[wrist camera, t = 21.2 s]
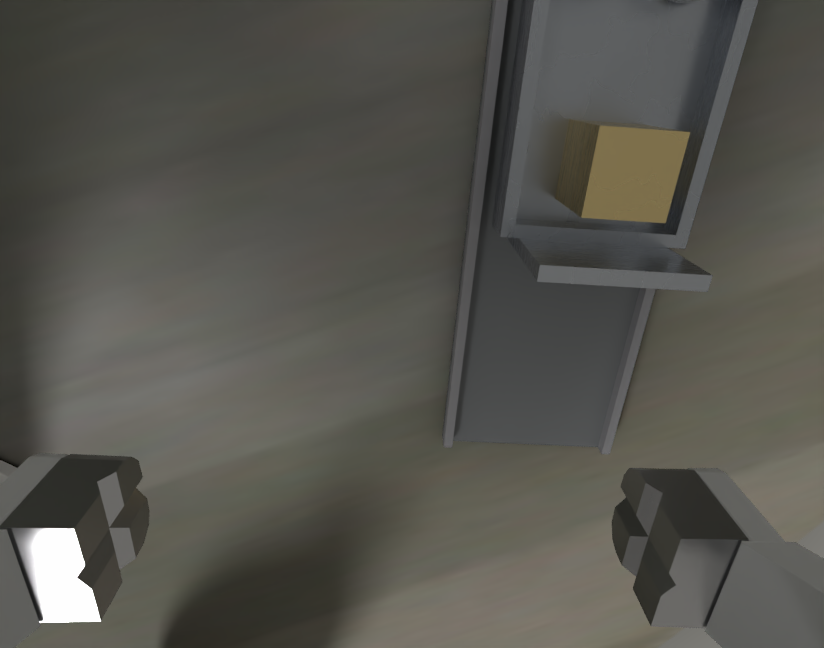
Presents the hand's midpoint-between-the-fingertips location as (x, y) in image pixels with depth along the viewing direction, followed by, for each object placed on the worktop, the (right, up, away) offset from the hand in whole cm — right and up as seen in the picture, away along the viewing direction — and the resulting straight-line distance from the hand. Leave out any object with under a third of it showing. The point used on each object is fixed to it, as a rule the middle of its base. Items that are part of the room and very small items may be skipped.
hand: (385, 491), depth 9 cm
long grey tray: (+11, +16, +20) cm, 28 cm away
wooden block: (+10, +11, +19) cm, 24 cm away
